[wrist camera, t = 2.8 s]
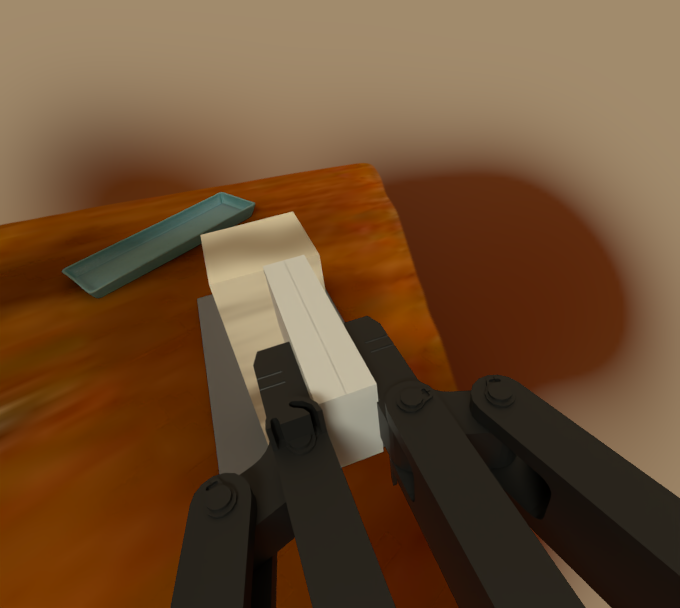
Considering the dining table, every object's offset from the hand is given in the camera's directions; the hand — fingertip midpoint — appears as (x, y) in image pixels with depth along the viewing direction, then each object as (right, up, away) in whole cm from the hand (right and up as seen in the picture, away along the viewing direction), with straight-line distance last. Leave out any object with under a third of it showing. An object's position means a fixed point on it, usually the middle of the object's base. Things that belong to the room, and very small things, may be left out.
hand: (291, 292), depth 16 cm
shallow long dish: (-23, +7, +47) cm, 52 cm away
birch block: (-1, -9, +19) cm, 22 cm away
